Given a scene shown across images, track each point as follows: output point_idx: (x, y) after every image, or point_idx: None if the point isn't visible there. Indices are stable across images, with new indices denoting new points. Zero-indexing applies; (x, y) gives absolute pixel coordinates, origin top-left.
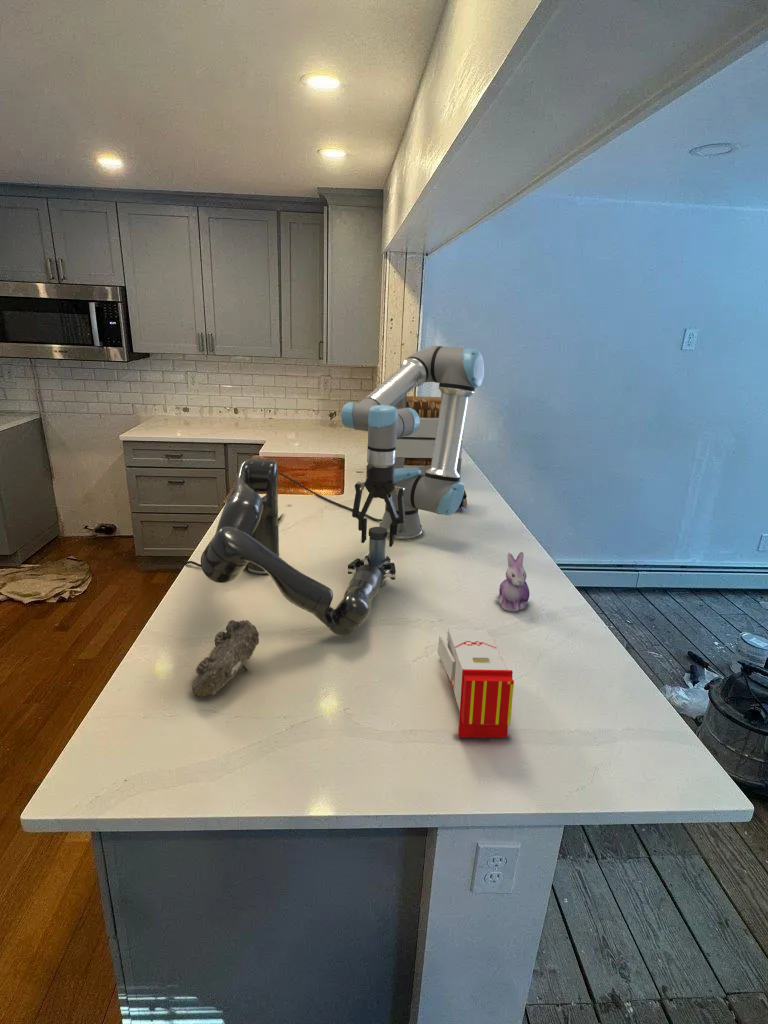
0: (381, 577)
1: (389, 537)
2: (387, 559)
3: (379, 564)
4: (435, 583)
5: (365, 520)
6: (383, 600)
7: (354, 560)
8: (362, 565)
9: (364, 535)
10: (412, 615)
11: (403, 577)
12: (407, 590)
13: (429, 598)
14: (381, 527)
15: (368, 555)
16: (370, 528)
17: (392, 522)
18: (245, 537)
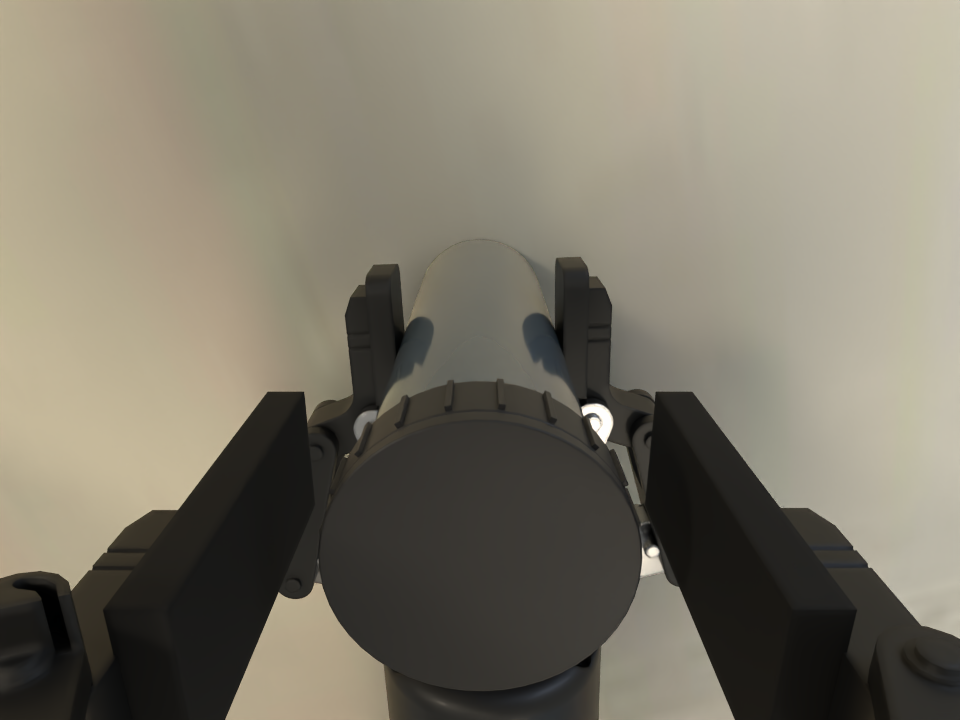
0: (599, 668)
1: (680, 587)
2: (587, 349)
3: None
4: (941, 160)
5: (190, 715)
6: None
7: None
8: (432, 713)
9: (286, 543)
10: None
11: (674, 135)
12: (724, 340)
13: (881, 403)
14: (508, 438)
15: (378, 330)
16: (332, 542)
17: (802, 659)
18: None
